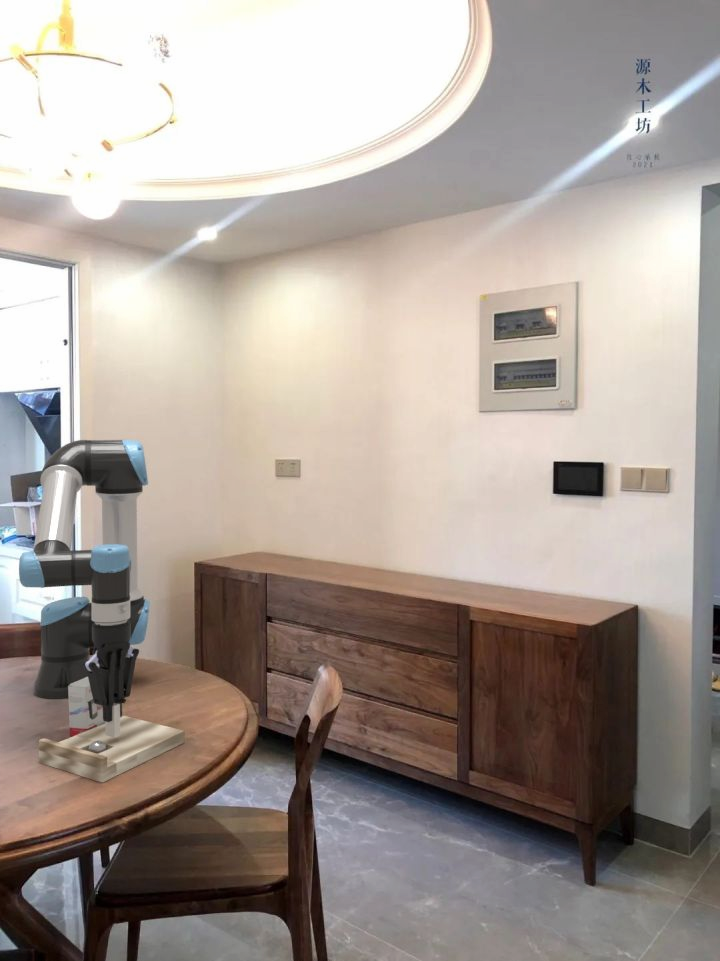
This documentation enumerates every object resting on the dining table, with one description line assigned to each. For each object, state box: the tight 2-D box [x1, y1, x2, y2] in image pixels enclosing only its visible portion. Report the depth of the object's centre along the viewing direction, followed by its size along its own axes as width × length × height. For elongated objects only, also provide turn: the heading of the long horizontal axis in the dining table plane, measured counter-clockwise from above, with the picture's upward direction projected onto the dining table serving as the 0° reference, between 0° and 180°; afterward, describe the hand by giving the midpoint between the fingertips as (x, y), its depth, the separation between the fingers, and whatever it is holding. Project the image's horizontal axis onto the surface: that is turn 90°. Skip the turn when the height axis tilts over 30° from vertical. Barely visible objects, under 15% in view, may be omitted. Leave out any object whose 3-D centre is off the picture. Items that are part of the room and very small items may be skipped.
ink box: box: [68, 677, 105, 738], centre depth 162 cm, size 9×5×12 cm, turn 162°
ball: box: [88, 740, 107, 754], centre depth 149 cm, size 4×4×4 cm
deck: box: [38, 715, 186, 783], centre depth 152 cm, size 18×22×4 cm
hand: (112, 735), depth 152 cm, fingers closed
